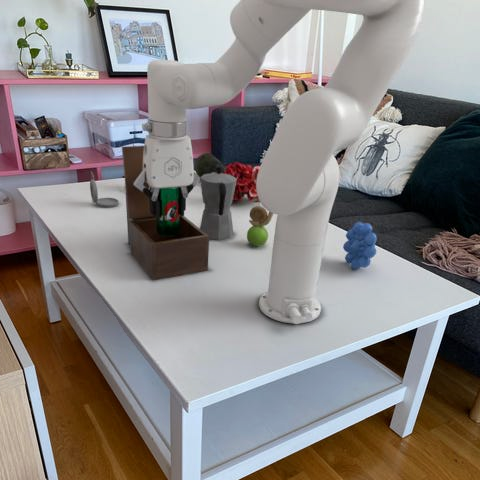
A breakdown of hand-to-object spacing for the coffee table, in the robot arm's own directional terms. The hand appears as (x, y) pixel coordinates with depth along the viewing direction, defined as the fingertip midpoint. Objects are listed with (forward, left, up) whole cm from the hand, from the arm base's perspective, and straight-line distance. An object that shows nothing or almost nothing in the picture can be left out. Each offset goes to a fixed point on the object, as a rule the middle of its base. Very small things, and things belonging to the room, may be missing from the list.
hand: (167, 214), depth 108 cm
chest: (0, 0, -12) cm, 12 cm away
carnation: (+54, -21, -12) cm, 59 cm away
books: (+10, +4, -12) cm, 16 cm away
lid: (+7, +3, +5) cm, 9 cm away
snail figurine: (+9, -24, -12) cm, 28 cm away
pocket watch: (+40, +17, -12) cm, 46 cm away
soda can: (0, 0, -5) cm, 5 cm away
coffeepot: (+16, -14, -12) cm, 24 cm away
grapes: (-5, -46, -12) cm, 47 cm away
